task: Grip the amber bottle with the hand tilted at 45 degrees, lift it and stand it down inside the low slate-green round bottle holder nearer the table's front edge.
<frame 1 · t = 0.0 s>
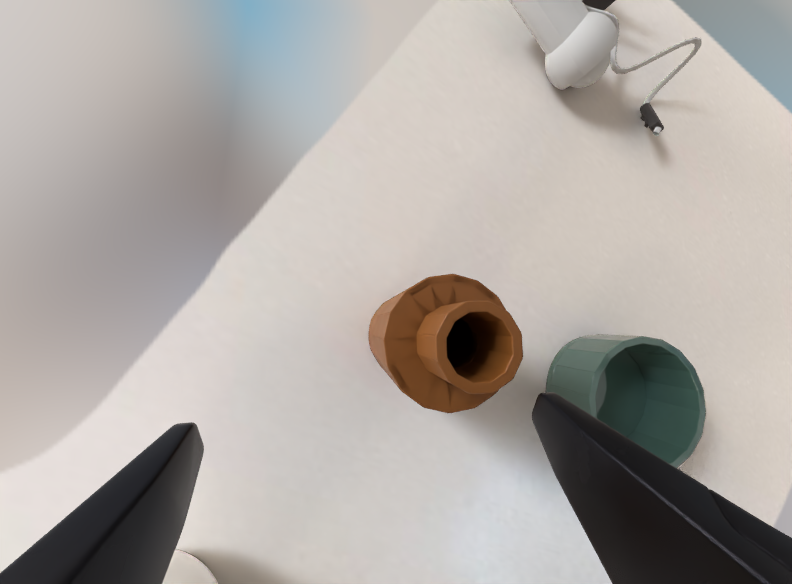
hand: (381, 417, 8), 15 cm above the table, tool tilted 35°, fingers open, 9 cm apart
clip-on lamp: (581, 60, 29), on the table
holder: (596, 390, 26), on the table
bottle: (408, 334, 24), on the table
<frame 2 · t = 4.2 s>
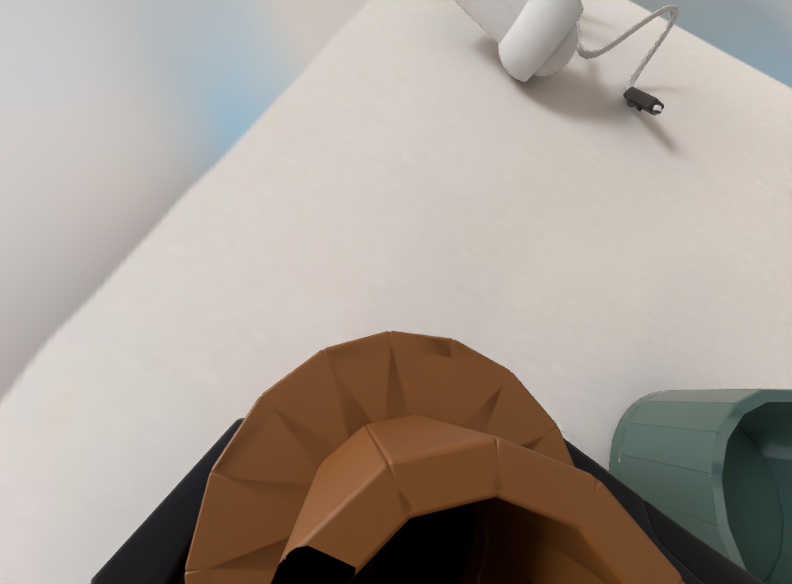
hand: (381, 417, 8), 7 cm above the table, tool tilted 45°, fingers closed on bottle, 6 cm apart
clip-on lamp: (539, 55, 24), on the table
holder: (692, 485, 16), on the table
bottle: (368, 441, 14), on the table, touching gripper
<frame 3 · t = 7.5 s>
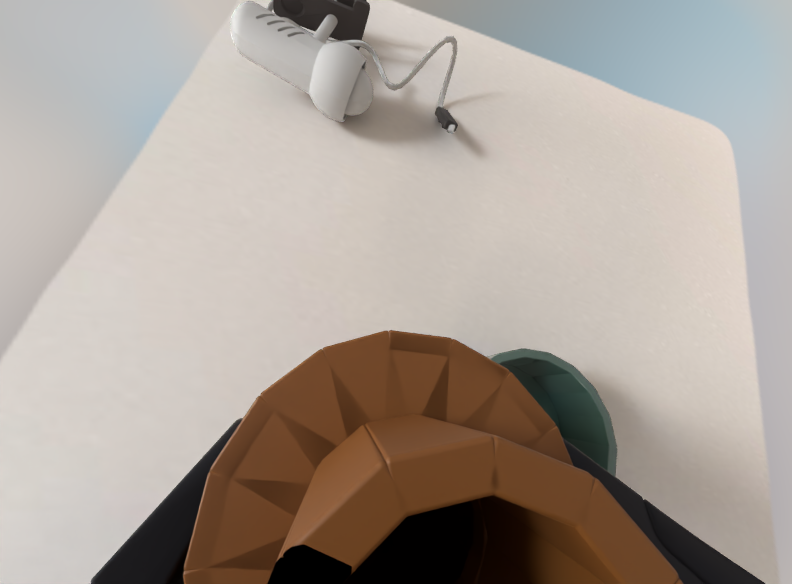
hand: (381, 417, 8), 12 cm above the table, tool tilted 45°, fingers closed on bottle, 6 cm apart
clip-on lamp: (361, 89, 28), on the table
holder: (497, 427, 21), on the table
bottle: (367, 440, 14), point 6 cm above the table, touching gripper
when the fingers open (7 cm above the table, at t = 11.0 s): bottle stays where it is, resting on holder.
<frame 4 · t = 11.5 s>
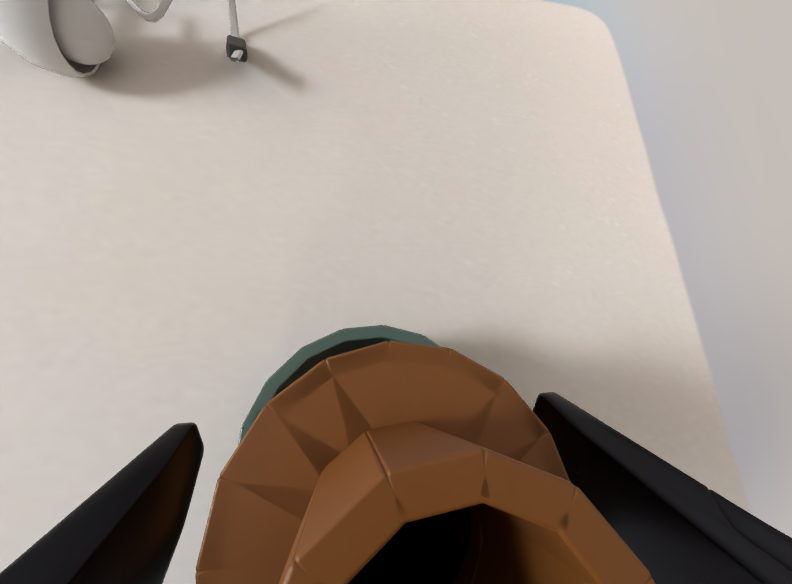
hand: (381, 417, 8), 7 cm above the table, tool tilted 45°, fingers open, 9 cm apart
clip-on lamp: (119, 33, 20), on the table
holder: (367, 439, 15), on the table
bottle: (368, 443, 14), point 1 cm above the table, touching holder
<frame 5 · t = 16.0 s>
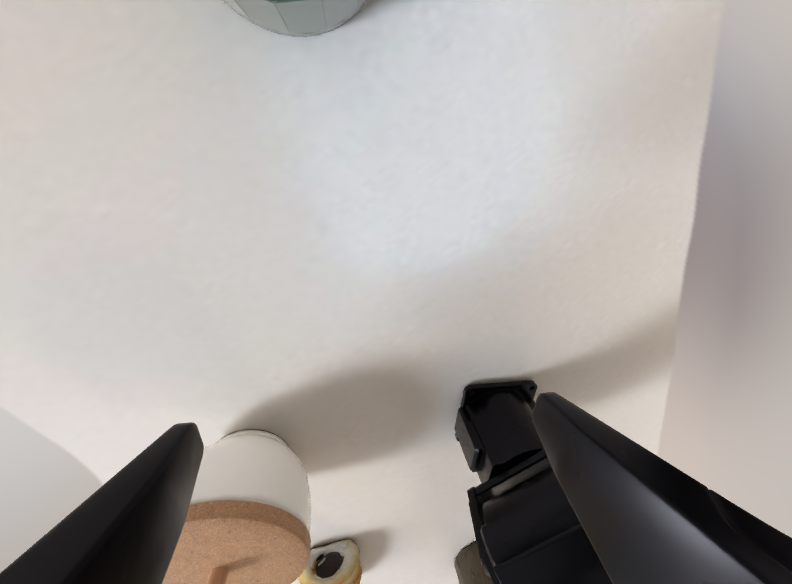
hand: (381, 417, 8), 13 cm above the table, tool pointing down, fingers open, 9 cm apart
pastry: (333, 556, 36), on the table
pillar candle: (489, 551, 41), on the table
trinket box: (252, 452, 27), on the table
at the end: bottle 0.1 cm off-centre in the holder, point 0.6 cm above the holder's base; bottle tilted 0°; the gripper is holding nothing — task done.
